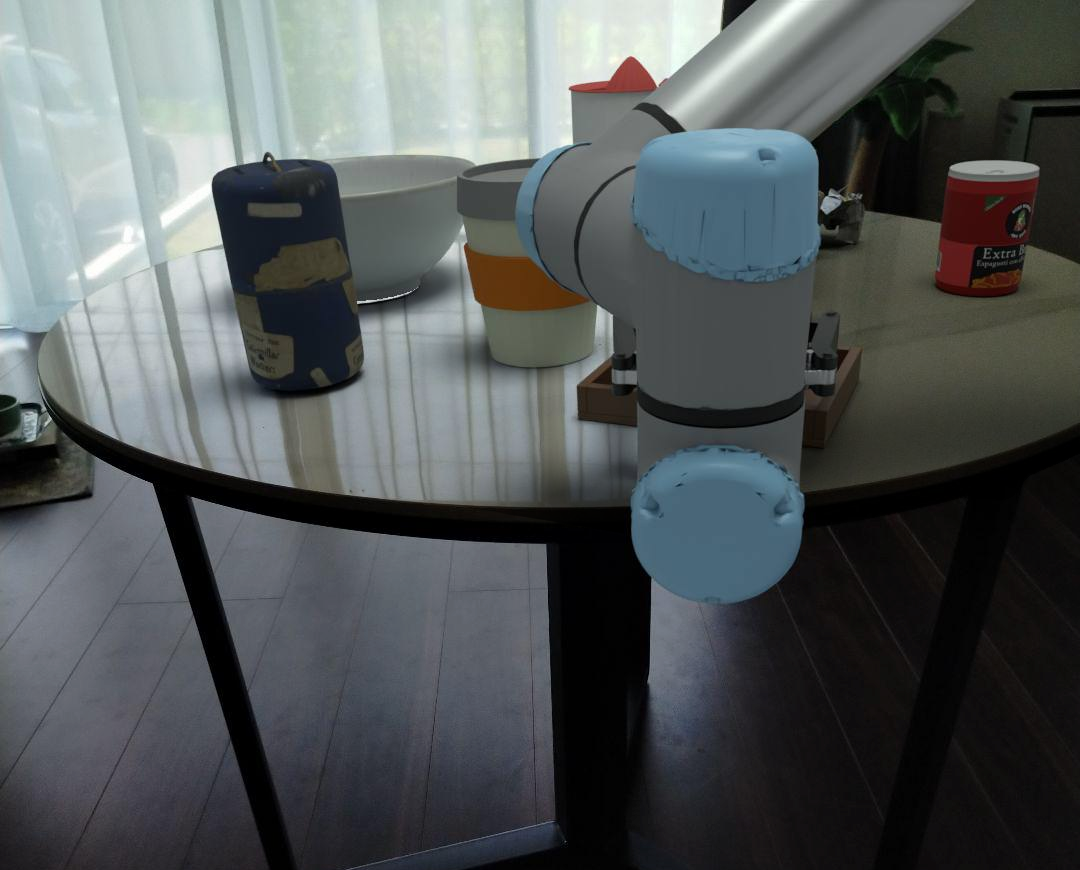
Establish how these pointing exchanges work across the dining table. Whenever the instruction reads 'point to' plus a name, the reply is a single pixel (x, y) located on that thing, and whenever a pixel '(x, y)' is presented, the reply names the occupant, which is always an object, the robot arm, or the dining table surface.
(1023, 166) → the canned food
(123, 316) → the dining table surface
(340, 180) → the decorative bowl
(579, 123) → the citrus juicer
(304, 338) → the canister
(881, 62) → the robot arm
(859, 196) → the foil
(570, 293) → the reusable coffee cup
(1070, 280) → the dining table surface
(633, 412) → the tray
